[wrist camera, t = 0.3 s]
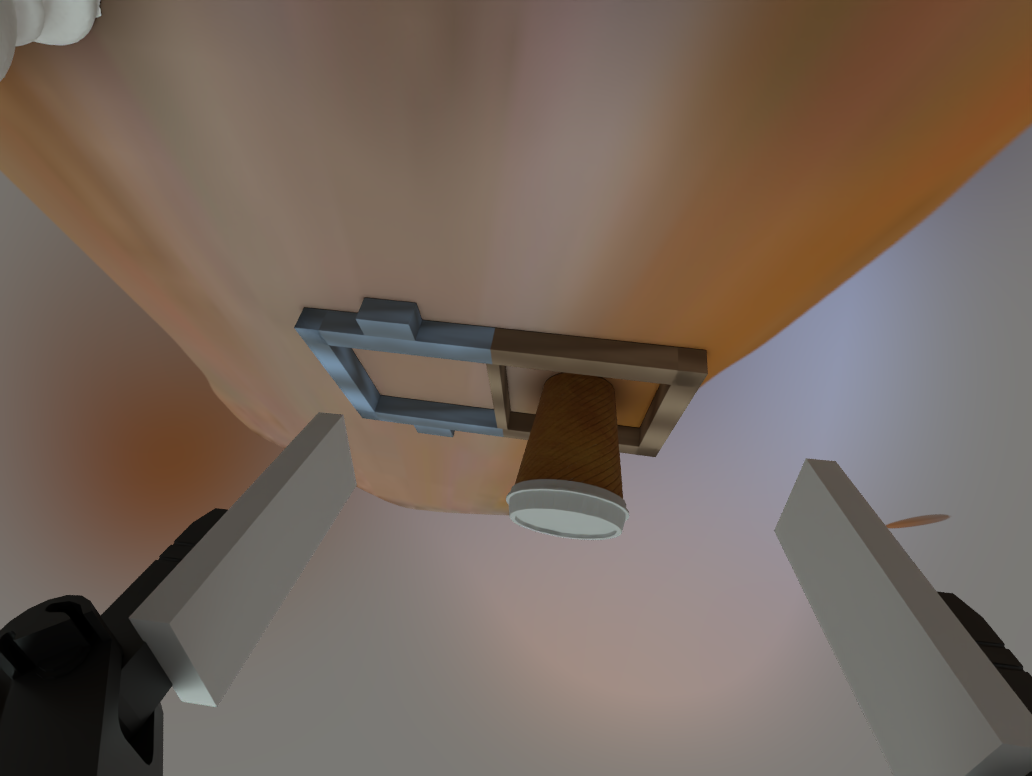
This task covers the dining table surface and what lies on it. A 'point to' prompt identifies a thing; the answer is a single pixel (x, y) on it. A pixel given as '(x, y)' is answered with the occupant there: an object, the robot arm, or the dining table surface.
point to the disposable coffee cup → (572, 463)
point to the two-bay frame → (494, 369)
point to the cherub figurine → (43, 24)
